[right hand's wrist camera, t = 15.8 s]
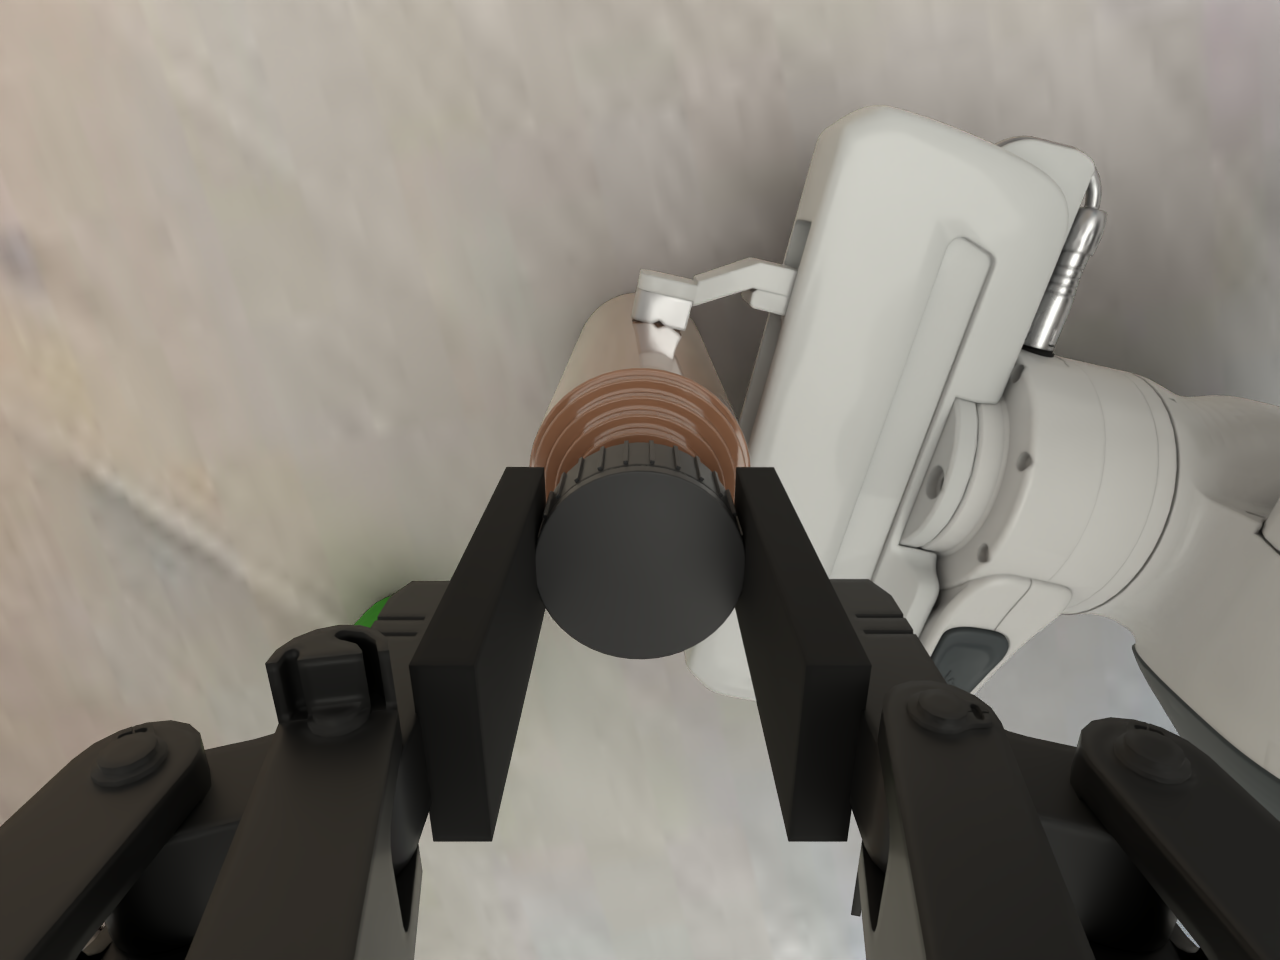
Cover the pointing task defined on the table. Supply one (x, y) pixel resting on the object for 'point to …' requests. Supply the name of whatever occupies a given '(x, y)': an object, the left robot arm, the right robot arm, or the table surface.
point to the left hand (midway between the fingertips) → (614, 394)
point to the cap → (640, 551)
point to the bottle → (638, 397)
